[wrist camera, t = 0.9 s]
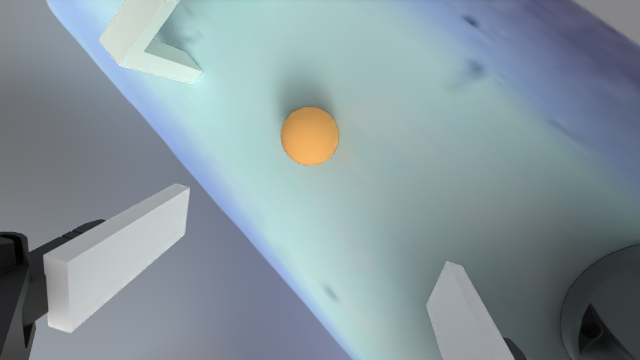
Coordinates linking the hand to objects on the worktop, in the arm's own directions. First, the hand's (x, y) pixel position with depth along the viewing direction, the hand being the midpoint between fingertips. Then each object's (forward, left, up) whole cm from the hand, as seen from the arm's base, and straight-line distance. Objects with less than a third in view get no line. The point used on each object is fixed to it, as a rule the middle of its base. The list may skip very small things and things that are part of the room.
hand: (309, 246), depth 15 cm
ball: (+7, 0, -14) cm, 15 cm away
